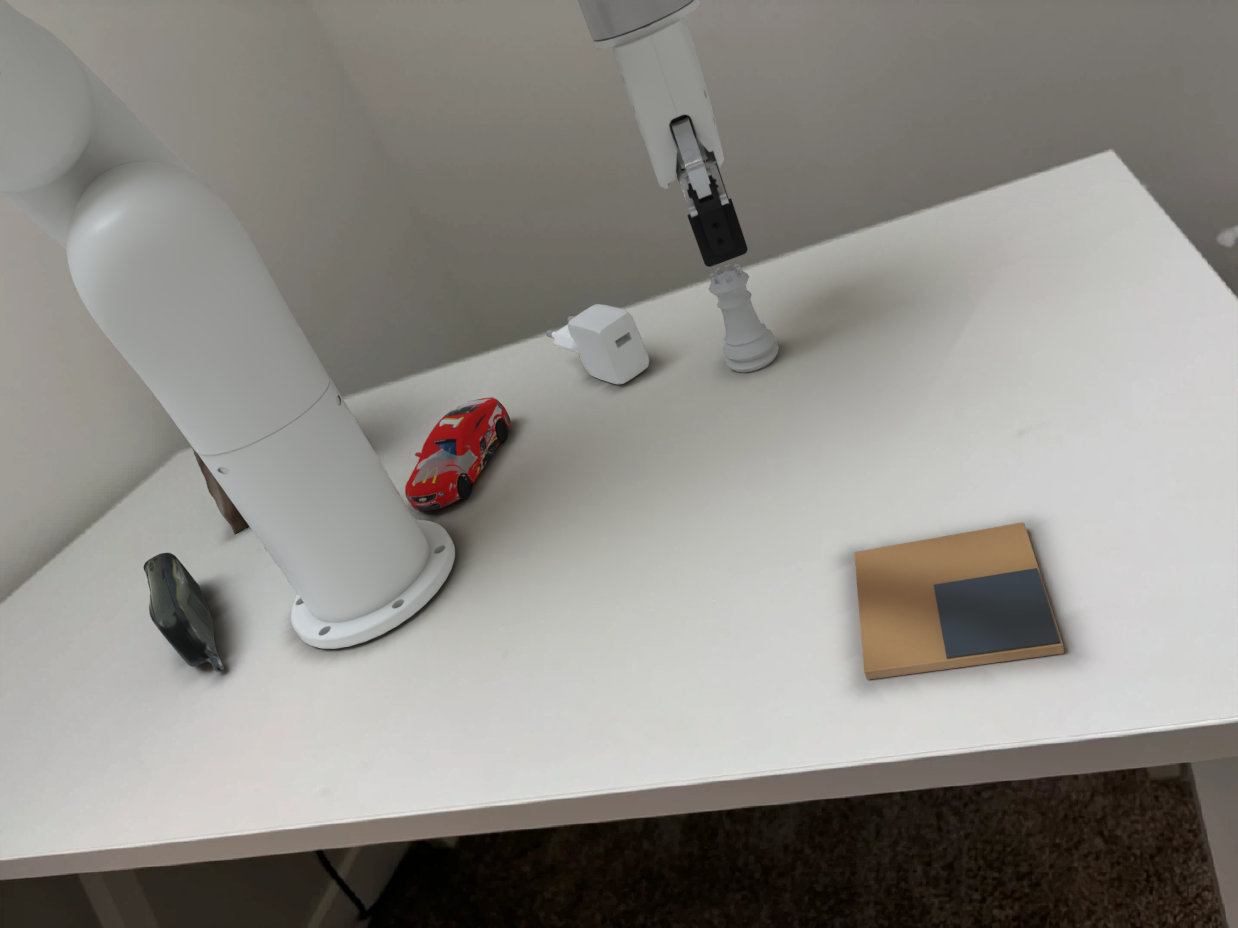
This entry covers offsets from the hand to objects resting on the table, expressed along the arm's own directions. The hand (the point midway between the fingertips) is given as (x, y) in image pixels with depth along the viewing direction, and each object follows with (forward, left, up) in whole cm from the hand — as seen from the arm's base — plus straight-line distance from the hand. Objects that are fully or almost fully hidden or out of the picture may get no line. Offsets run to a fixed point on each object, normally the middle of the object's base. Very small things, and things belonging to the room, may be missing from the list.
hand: (719, 236), depth 72 cm
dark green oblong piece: (-15, -47, -11) cm, 50 cm away
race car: (-13, -22, -11) cm, 28 cm away
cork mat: (+30, -14, -11) cm, 35 cm away
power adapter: (-14, -6, -11) cm, 19 cm away
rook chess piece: (0, 0, -11) cm, 11 cm away
